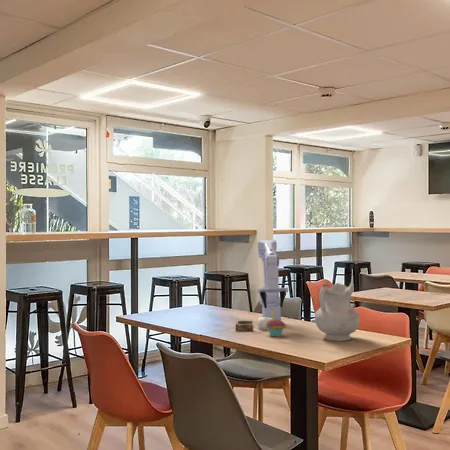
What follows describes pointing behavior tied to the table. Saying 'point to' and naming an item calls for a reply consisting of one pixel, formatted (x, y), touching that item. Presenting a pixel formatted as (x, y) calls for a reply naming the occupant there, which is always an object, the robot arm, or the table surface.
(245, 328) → the holder
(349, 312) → the ceramic pitcher
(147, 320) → the table surface
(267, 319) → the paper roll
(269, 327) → the cupcake
